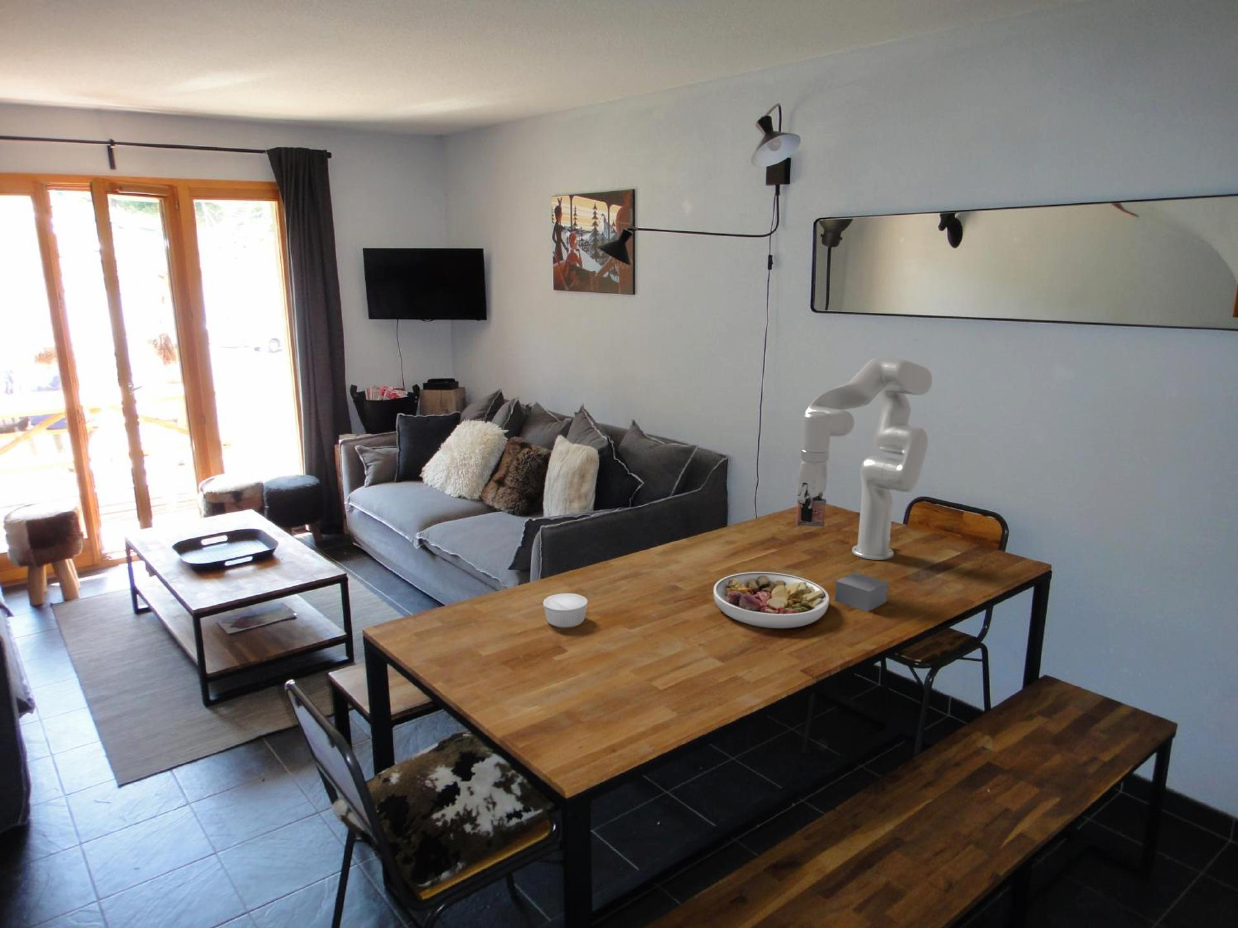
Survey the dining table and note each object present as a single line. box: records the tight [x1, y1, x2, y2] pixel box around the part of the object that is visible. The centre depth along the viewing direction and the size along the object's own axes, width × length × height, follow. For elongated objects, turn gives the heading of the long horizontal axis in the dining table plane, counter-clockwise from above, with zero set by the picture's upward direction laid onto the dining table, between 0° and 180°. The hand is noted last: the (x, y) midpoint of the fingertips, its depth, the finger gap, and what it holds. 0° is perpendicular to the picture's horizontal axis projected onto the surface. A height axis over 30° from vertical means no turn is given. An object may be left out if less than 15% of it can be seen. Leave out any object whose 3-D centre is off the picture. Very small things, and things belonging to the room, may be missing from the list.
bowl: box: [713, 571, 830, 629], centre depth 222 cm, size 30×30×8 cm
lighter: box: [795, 492, 827, 528], centre depth 237 cm, size 8×3×10 cm, turn 82°
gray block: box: [834, 571, 889, 613], centre depth 228 cm, size 10×10×6 cm
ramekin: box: [542, 592, 589, 628], centre depth 213 cm, size 11×11×5 cm
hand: (810, 518), depth 238 cm, fingers closed on lighter, 4 cm apart
